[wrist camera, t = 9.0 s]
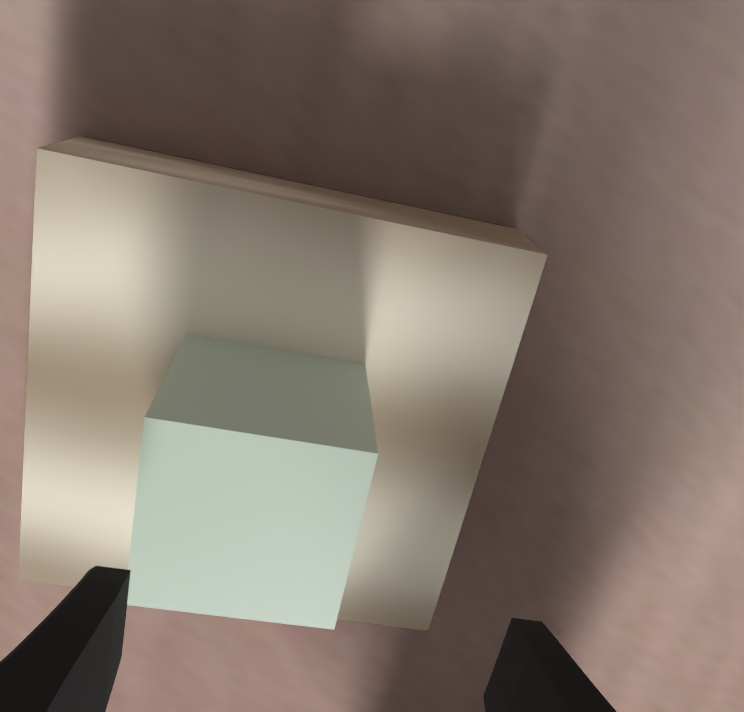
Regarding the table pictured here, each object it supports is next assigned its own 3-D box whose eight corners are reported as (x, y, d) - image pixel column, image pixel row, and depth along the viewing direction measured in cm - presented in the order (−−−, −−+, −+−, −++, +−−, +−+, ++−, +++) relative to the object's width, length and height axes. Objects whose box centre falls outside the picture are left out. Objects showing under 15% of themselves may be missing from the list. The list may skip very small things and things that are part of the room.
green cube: (331, 510, 19) (334, 629, 15) (168, 486, 19) (124, 604, 15) (365, 364, 18) (378, 453, 14) (187, 333, 17) (144, 417, 13)
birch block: (416, 566, 24) (428, 631, 21) (55, 516, 22) (18, 580, 20) (516, 229, 20) (547, 255, 17) (80, 136, 18) (36, 148, 15)
